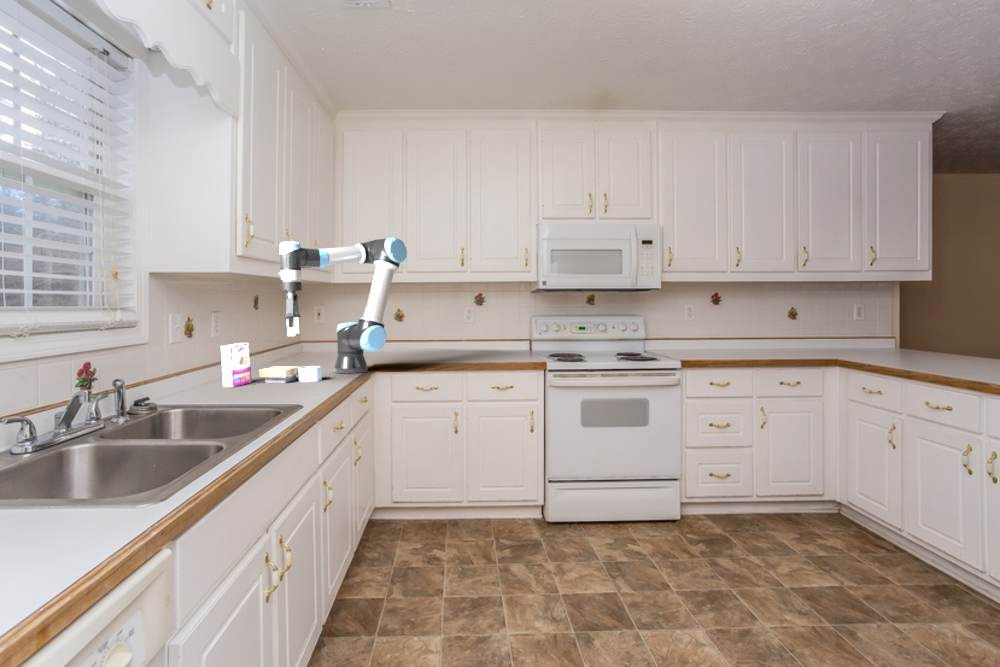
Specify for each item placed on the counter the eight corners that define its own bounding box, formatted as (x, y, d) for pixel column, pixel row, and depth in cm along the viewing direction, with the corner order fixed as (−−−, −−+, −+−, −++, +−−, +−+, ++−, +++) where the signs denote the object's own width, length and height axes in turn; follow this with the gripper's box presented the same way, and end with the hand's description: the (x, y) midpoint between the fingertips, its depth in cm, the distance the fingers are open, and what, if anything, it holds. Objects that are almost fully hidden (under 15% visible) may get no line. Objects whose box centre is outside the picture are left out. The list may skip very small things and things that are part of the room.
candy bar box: (240, 382, 207) (239, 342, 206) (251, 382, 206) (250, 343, 205) (221, 387, 196) (219, 345, 195) (233, 387, 195) (231, 345, 194)
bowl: (306, 378, 217) (306, 365, 216) (324, 378, 215) (324, 366, 215) (295, 381, 208) (294, 368, 208) (314, 382, 207) (313, 368, 207)
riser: (277, 379, 215) (276, 373, 214) (296, 379, 213) (296, 374, 213) (265, 382, 207) (264, 376, 207) (285, 382, 205) (284, 376, 205)
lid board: (275, 373, 216) (275, 366, 216) (301, 373, 214) (301, 366, 214) (259, 376, 205) (259, 369, 205) (285, 377, 203) (285, 370, 203)
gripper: (285, 282, 210) (287, 332, 212) (276, 280, 186) (278, 337, 188) (304, 282, 212) (306, 332, 214) (297, 280, 188) (300, 336, 190)
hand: (293, 334), depth 201 cm, fingers open, 13 cm apart
